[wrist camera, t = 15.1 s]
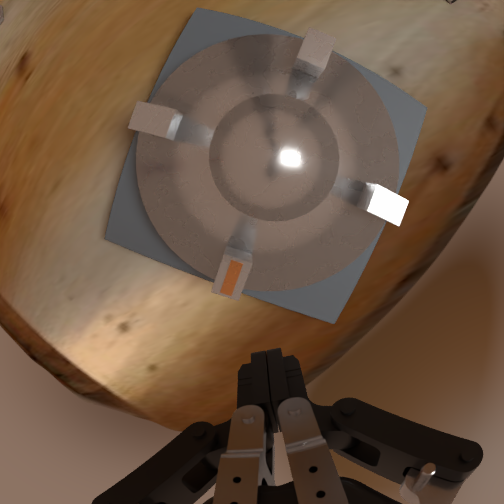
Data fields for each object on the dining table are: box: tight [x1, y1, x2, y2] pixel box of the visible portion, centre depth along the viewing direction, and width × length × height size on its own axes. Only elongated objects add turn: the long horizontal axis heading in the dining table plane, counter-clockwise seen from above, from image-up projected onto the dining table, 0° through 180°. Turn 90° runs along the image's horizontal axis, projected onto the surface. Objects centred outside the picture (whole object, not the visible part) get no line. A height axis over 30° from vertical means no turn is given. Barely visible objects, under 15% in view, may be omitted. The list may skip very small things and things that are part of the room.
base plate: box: [105, 8, 427, 324], centre depth 25 cm, size 26×26×2 cm
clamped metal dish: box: [128, 27, 409, 301], centre depth 22 cm, size 24×24×4 cm
